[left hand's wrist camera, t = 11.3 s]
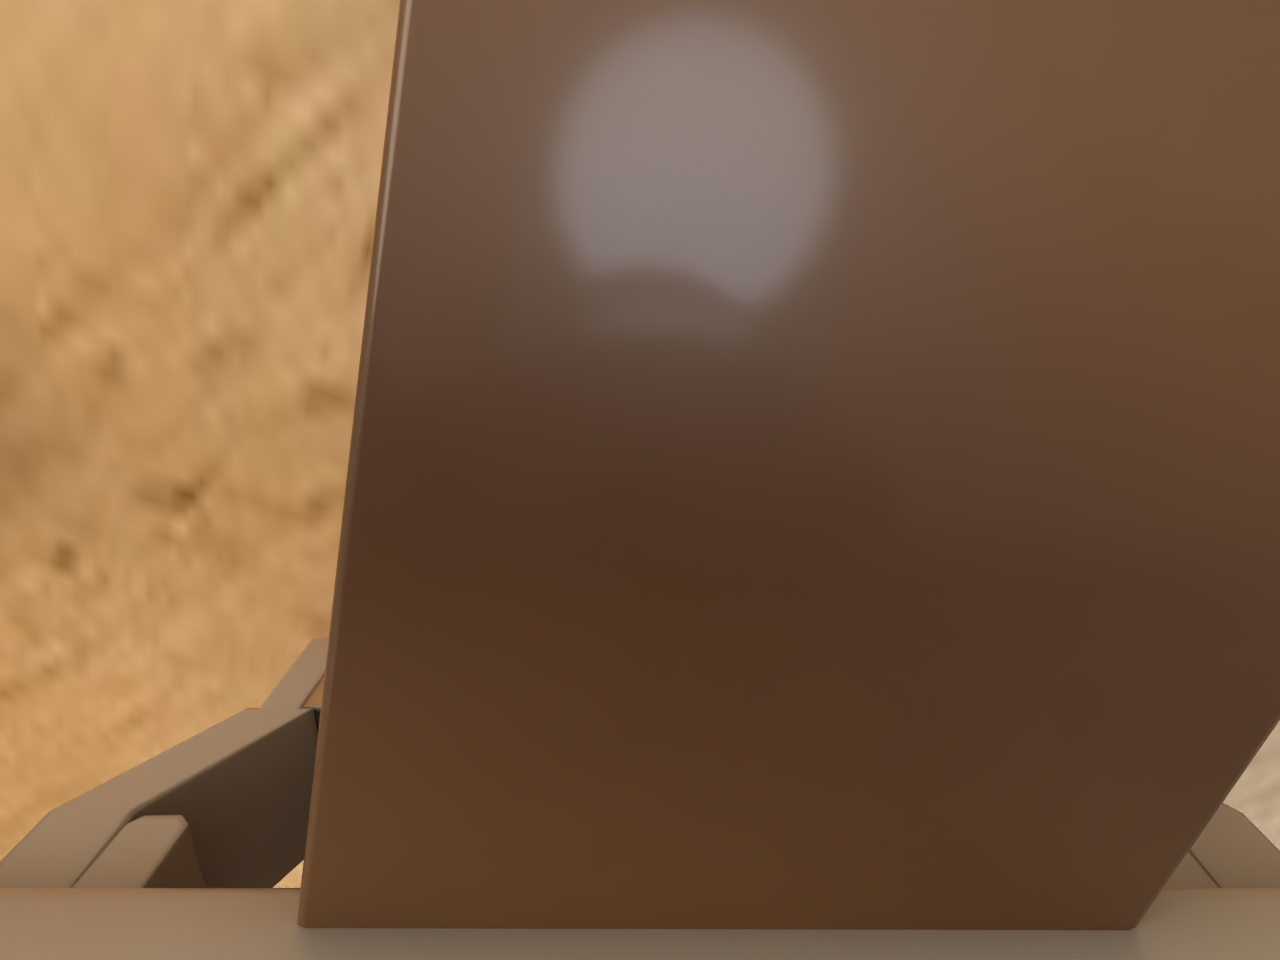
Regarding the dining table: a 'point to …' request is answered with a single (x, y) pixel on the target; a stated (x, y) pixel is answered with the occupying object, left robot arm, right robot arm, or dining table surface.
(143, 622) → the dining table surface
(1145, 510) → the bar
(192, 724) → the dining table surface
